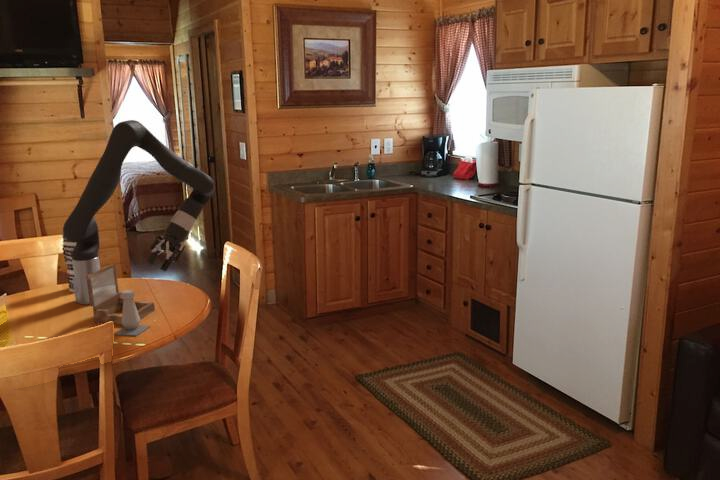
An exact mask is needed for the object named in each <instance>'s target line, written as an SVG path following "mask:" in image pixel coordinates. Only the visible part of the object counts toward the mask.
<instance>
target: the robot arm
mask: <svg viewBox="0 0 720 480" xmlns="http://www.w3.org/2000/svg"><path fill="white" fill-rule="evenodd" d="M135 147H137V148H140V149H141V150H143V151H145V152H146V153H148V154H149V155H150V156H151V157H152V158H154V160H155V161H156V162H157V163H158V164H159V166H160V167H161V168H162V169H163V170H164V171H165V172H167V173H168V174H169V175H171V176H172V177H173V178H174V179H176V180H177V181H179V182H181V183H185V184H186V185H188V186H189V187H190V188H191V189H192V191H191V193H189V196H188V197H186V198H184V200H183V202H182V203H181V205H180V206H179V208H178V210H177V211H176V212H175V213H174V215H173V216H172V218H171V219H170V222H169V223H168V225H167V226H166V228H165V229H164V231H163V232H164V234H165V235H164V236H162V235H160V234H159V235H157V236H156V238H155V239H154V241H153V242H152V244H151V245H150V247H149V250H150V252H151V253H150V255H149V257H148V259H147V260H146V263H147V264H149V265H151V266H152V265H153V264H154V263H155V261H156V260H157V258H158V256H159V255H161V254H163V253H166V258H165V259H164V260H163V262H162V264H161V265H160V270H161V271H163V272H167V270H169V268H170V266H171V265H172V263H174V262H176V263H177V262H178V261H179V259H180V258H181V255H182V254H183V252H184V251H185V249H186V247H185V246H184V245H183V244H182V243H184V242H185V241H186V239H187V237H188V236H189V235H190V233H191V231H192V230H193V227H194V226H195V223H196V222H197V219H198V218H199V216H200V214H201V212H202V211H203V209H204V208H205V206H207V204H208V203H209V201H210V200H211V198H212V197H213V196H214V193H215V191H216V187H215V182H214V179H213V178H212V177H211V176H210V175H208V174H207V173H206V172H204V171H202V170H200V169H198V168H196V167H194V166H193V165H192V164H191V163H189V162H188V161H186V160H185V159H183V158H182V157H181V156H180V155H178V154H177V153H175V152H174V151H172V150H171V149H170V148H168V147H167V145H165V144H164V143H163V142H161V141H160V140H159V139H158V138H157V137H156V136H155V135H154V134H153V133H152V132H151V131H150V130H149V129H148V128H147V127H146V126H145V125H144V124H143V123H141V122H140V121H138V120H136V119H135V120H134V119H132V120H131V119H130V120H124V121H121V122H118V123H117V124H116V125H115V126H113V128H112V130H111V133H110V135H109V138H108V141H107V144H106V146H105V150H104V151H103V153H102V155H101V157H100V159H99V161H98V163H97V165H96V167H95V168H94V170H93V171H92V174H91V176H90V177H89V179H88V182H87V184H86V185H85V188H84V189H83V191H82V194H81V195H80V198H79V200H78V202H77V203H76V205H75V207H74V208H73V210H72V212H71V213H70V214H69V216H68V217H67V219H66V220H65V222H64V224H63V228H62V233H63V234H64V236H65V238H66V239H67V240H68V241H70V242H73V243H76V246H75V248H74V249H73V251H72V253H71V256H72V262H73V269H74V276H75V278H73V285H74V292H73V293H74V297H75V303H78V304H81V305H90V299H89V292H88V285H87V278H86V276H87V275H89V274H92V273H94V272H96V271H98V270H100V269H101V264H100V257H99V249H100V235H99V234H100V233H99V226H98V223H97V221H96V219H95V218H94V217H95V215H97V213H98V212H99V211H100V210H101V209H102V208H103V206H104V205H106V203H107V202H108V201H109V200H110V199H111V198H112V196H113V195H114V193H115V190H116V189H117V187H118V185H119V183H120V182H121V181H120V180H121V175H122V166H123V163H124V161H125V160H126V158H127V156H128V154H129V153H130V151H132V149H133V148H135Z"/></svg>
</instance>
